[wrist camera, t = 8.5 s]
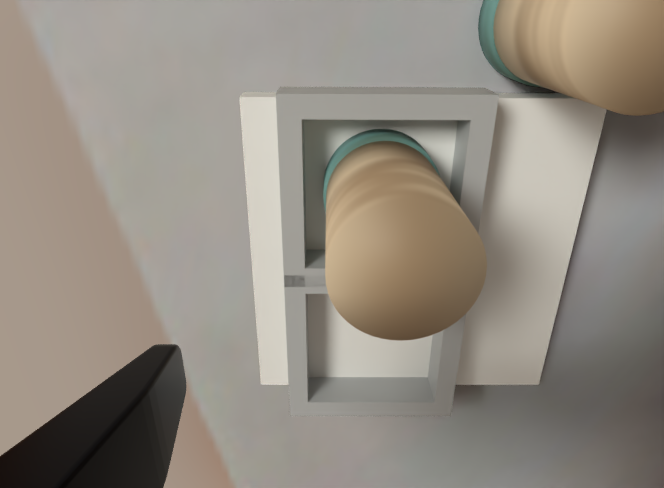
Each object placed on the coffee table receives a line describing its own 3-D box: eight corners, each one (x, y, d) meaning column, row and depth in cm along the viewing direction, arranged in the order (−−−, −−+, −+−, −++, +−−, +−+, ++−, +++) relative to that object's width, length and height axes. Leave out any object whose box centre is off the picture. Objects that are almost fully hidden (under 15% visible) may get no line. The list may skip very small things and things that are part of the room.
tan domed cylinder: (613, -50, 16) (797, -90, 10) (584, 82, 18) (722, 120, 12) (487, -51, 16) (590, -92, 10) (471, 81, 18) (548, 119, 12)
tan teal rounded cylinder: (440, 128, 17) (503, 195, 11) (429, 234, 19) (478, 343, 13) (323, 128, 17) (320, 194, 11) (323, 234, 19) (321, 343, 13)
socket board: (594, 83, 18) (638, 95, 15) (527, 373, 24) (551, 416, 21) (243, 82, 18) (229, 93, 15) (264, 373, 24) (256, 416, 21)
